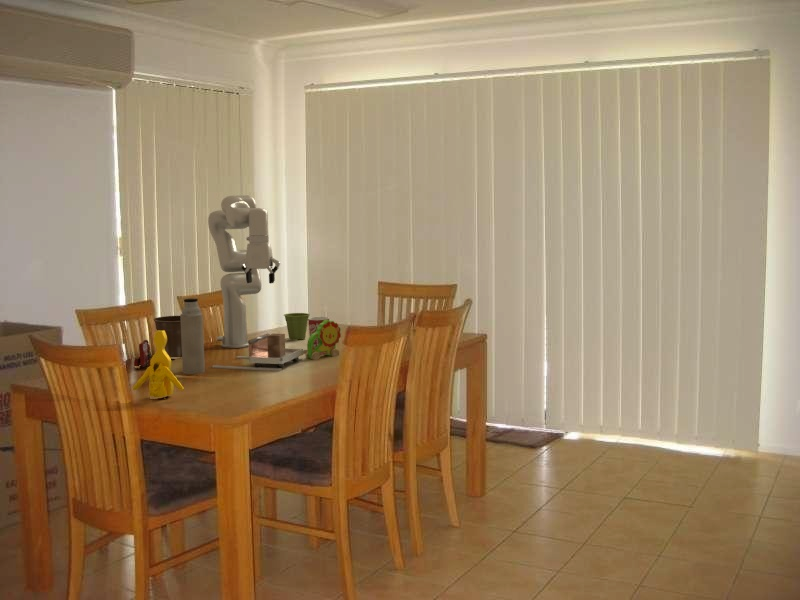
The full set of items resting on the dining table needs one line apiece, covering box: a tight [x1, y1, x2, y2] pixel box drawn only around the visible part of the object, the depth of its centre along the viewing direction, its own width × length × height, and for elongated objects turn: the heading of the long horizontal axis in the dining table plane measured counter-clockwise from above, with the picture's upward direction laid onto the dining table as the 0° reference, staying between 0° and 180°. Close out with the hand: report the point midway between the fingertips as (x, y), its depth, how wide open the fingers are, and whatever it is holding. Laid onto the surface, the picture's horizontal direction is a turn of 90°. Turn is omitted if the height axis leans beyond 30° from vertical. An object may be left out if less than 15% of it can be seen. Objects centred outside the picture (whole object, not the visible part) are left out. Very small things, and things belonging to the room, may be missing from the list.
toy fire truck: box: [133, 339, 153, 367], centre depth 359 cm, size 7×12×10 cm, turn 1°
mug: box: [308, 316, 330, 349], centre depth 393 cm, size 13×9×14 cm
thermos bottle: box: [179, 298, 206, 375], centre depth 343 cm, size 8×8×28 cm
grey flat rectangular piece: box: [211, 355, 304, 372], centre depth 357 cm, size 28×21×2 cm
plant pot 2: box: [283, 312, 311, 341], centre depth 421 cm, size 12×12×11 cm
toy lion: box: [305, 320, 342, 361], centre depth 371 cm, size 16×6×15 cm, turn 135°
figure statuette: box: [131, 330, 185, 397], centre depth 304 cm, size 18×8×22 cm, turn 82°
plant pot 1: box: [153, 315, 182, 357], centre depth 379 cm, size 16×16×16 cm
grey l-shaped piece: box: [247, 333, 304, 369], centre depth 355 cm, size 14×20×11 cm
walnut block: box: [267, 333, 286, 357], centre depth 354 cm, size 5×5×8 cm
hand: (260, 282), depth 372 cm, fingers open, 9 cm apart
